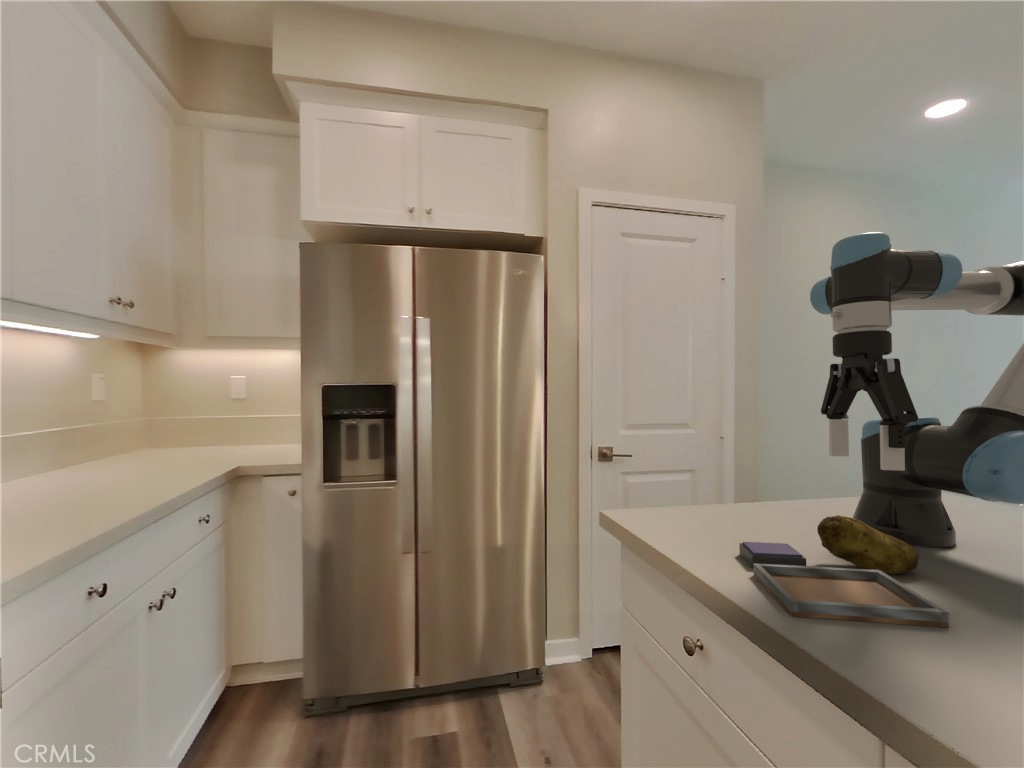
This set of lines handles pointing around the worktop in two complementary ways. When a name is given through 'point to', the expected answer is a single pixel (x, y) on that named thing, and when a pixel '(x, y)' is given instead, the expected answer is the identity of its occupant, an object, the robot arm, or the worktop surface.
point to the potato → (866, 546)
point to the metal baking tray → (847, 595)
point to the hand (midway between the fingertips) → (863, 462)
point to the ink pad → (771, 554)
